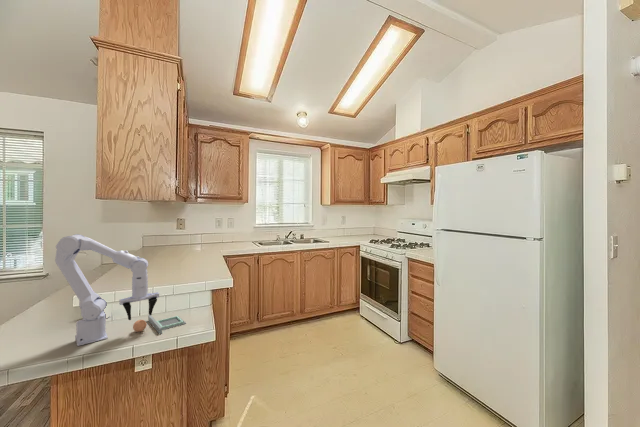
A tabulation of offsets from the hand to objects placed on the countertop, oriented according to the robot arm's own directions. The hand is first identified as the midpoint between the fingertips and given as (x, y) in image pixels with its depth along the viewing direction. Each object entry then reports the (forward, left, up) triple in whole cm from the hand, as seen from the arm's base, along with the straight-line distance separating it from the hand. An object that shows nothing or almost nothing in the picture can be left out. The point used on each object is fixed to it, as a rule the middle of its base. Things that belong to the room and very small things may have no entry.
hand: (140, 317), depth 118 cm
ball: (0, 0, -4) cm, 4 cm away
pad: (+12, 0, -6) cm, 14 cm away
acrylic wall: (+6, +1, -6) cm, 9 cm away
